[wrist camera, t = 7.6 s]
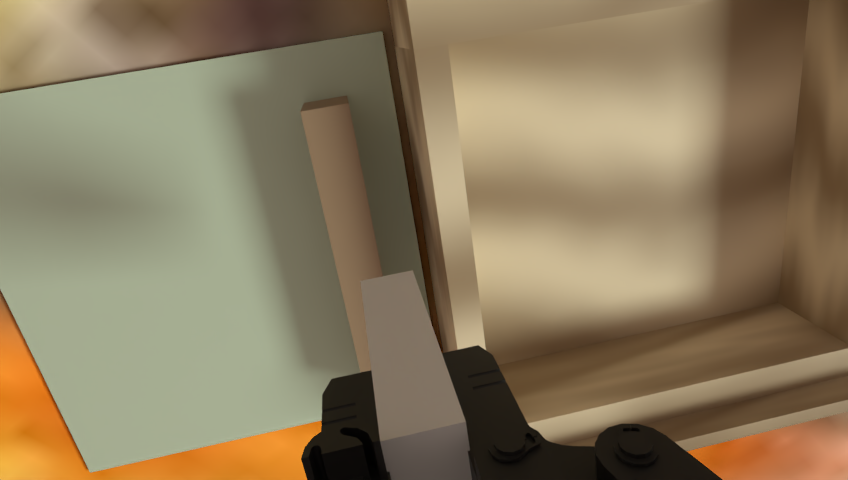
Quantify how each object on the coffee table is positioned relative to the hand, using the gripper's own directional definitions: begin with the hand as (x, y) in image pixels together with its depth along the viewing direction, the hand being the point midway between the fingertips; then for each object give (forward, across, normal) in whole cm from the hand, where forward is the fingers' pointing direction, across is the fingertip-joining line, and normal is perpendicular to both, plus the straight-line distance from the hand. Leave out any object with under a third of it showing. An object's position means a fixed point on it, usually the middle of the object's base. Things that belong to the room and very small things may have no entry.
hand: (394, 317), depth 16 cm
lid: (+8, -6, 0) cm, 10 cm away
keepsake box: (+7, +10, 0) cm, 13 cm away
